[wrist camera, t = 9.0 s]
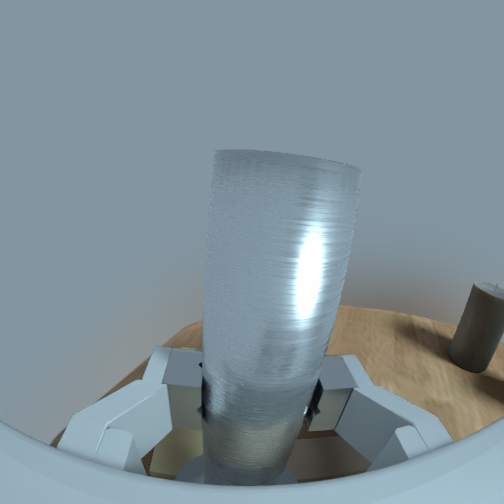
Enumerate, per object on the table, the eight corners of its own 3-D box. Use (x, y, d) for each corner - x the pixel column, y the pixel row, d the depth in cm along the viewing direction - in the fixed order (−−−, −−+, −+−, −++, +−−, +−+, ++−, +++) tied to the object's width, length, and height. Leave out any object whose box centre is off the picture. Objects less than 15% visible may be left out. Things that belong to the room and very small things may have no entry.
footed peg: (286, 460, 13) (359, 177, 9) (303, 546, 7) (506, 201, 3) (180, 457, 12) (173, 155, 8) (171, 545, 6) (63, 134, 2)
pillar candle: (481, 379, 31) (518, 297, 27) (440, 356, 39) (471, 277, 34) (490, 358, 36) (519, 287, 32) (454, 340, 44) (479, 271, 40)
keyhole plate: (342, 380, 34) (352, 354, 32) (387, 481, 17) (409, 457, 16) (181, 374, 32) (180, 346, 31) (157, 492, 16) (149, 470, 14)
